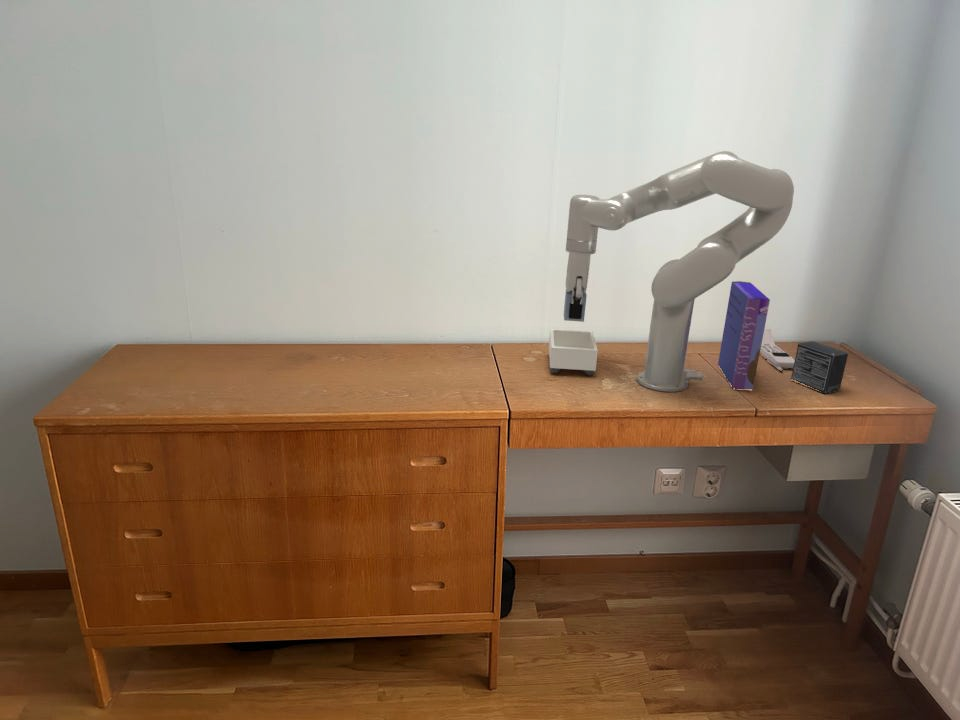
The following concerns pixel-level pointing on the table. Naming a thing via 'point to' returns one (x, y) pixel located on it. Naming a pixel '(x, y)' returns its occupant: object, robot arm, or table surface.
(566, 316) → the block
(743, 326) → the cereal box
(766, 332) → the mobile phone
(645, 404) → the table surface
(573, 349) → the white storage bin
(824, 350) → the small box
